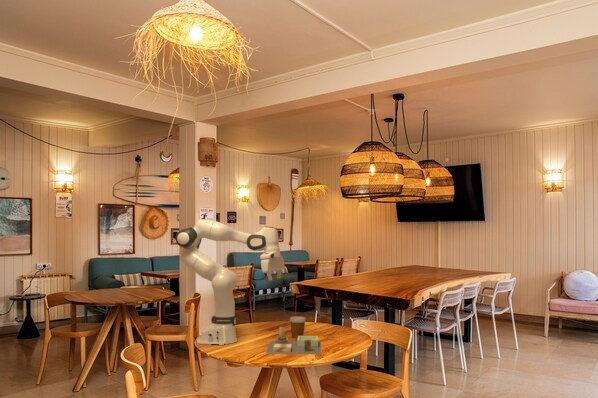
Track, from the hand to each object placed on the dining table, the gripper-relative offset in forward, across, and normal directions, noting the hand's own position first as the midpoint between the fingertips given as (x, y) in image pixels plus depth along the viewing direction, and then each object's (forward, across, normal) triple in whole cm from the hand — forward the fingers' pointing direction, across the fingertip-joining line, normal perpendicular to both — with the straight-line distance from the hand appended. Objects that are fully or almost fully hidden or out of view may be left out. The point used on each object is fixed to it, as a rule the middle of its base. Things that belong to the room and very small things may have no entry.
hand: (274, 279), depth 260 cm
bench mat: (+36, +8, +12) cm, 39 cm away
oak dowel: (+35, +6, +4) cm, 35 cm away
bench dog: (+36, +10, +21) cm, 44 cm away
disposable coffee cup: (+36, -13, +4) cm, 39 cm away
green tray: (+36, 0, +16) cm, 40 cm away
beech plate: (+35, +16, +10) cm, 40 cm away
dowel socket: (+35, +6, +4) cm, 35 cm away
